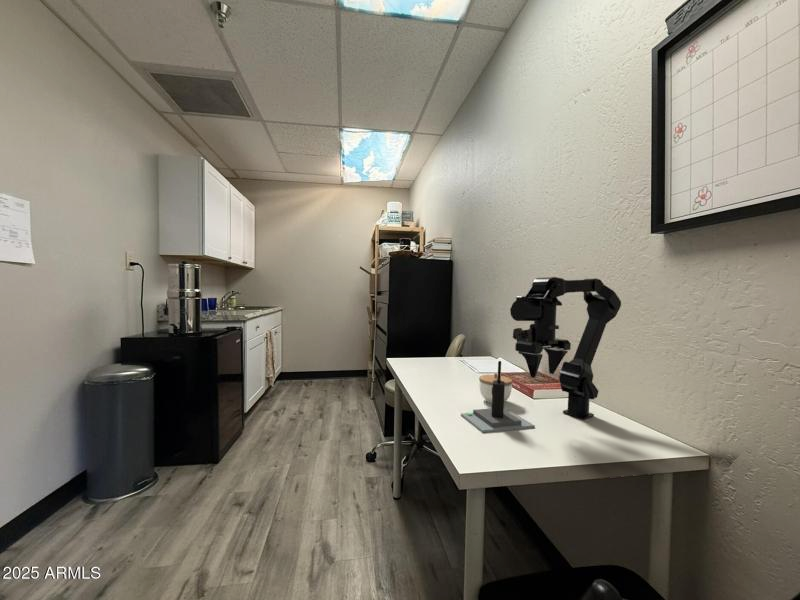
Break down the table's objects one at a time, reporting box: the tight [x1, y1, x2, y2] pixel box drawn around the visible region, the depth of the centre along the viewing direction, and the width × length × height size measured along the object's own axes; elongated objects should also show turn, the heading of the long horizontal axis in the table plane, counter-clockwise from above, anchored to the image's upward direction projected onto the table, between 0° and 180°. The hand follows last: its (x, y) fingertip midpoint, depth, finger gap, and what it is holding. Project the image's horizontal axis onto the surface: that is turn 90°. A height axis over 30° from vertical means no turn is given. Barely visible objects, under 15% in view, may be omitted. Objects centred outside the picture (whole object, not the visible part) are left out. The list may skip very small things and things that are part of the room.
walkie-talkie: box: [491, 360, 505, 418], centre depth 91 cm, size 5×3×15 cm
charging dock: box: [460, 407, 536, 433], centre depth 91 cm, size 16×12×2 cm
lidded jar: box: [478, 372, 513, 404], centre depth 109 cm, size 11×11×9 cm
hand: (542, 375), depth 93 cm, fingers open, 9 cm apart
